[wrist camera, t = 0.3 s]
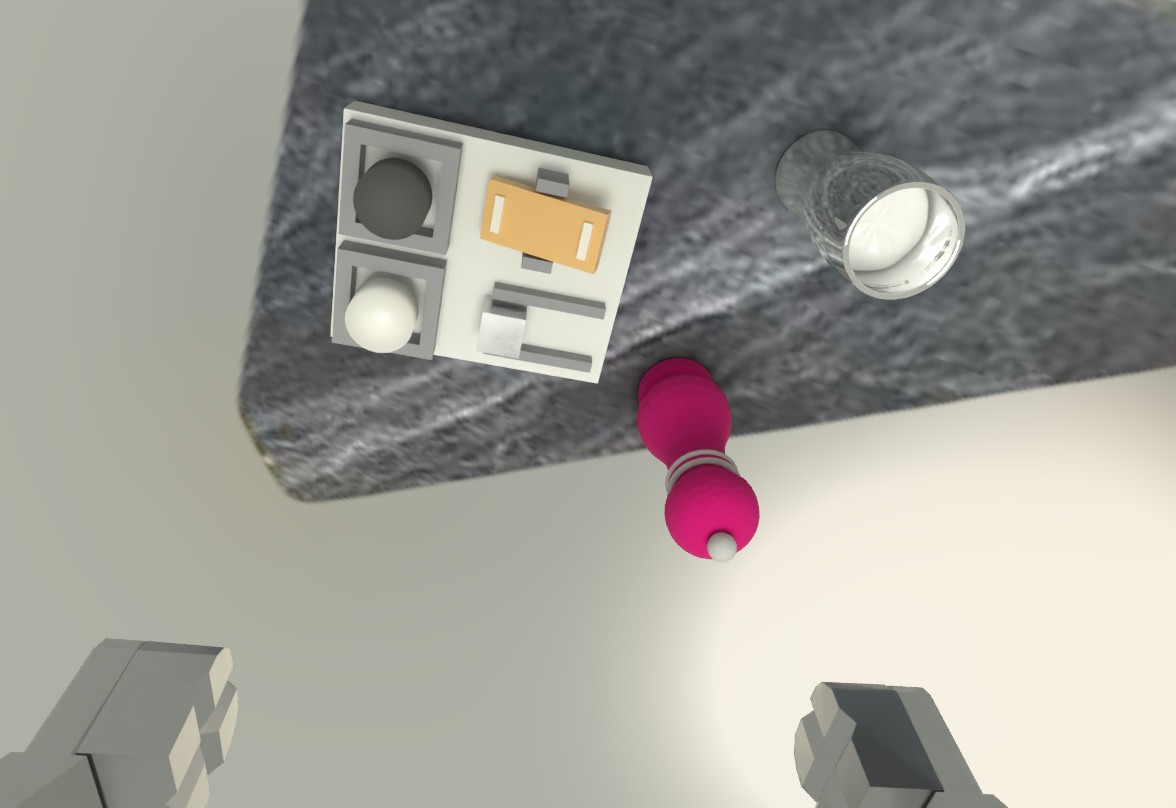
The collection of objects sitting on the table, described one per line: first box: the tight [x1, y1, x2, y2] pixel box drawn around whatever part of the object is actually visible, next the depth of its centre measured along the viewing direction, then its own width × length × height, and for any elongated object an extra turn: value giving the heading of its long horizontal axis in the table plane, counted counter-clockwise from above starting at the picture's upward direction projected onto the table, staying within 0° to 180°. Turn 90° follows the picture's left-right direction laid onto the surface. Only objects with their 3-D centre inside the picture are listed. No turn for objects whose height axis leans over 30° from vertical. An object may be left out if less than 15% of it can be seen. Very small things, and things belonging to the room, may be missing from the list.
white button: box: [345, 278, 419, 353], centre depth 50 cm, size 4×4×2 cm
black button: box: [353, 158, 433, 240], centre depth 46 cm, size 4×4×2 cm
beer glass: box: [775, 130, 965, 299], centre depth 46 cm, size 7×7×15 cm
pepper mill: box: [637, 358, 759, 562], centre depth 53 cm, size 7×7×20 cm
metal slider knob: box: [476, 295, 527, 359], centre depth 53 cm, size 3×3×3 cm
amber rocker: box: [480, 176, 612, 274], centre depth 48 cm, size 4×8×2 cm, turn 77°
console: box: [331, 101, 652, 383], centre depth 52 cm, size 16×20×6 cm
